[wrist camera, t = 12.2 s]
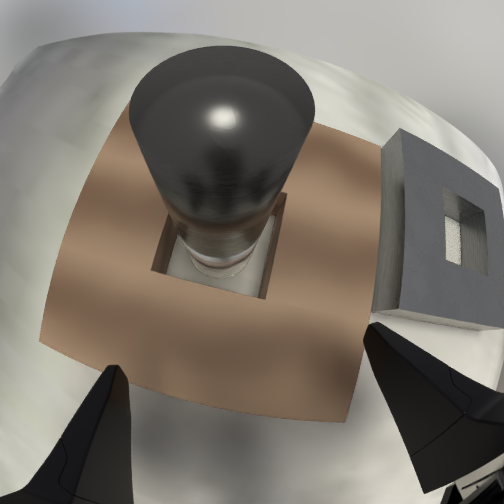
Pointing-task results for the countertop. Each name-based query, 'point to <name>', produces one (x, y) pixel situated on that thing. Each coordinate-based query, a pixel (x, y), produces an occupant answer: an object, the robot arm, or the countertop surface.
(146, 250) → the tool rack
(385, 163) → the socket block
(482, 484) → the robot arm
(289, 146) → the dark rounded cylinder
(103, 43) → the countertop surface
